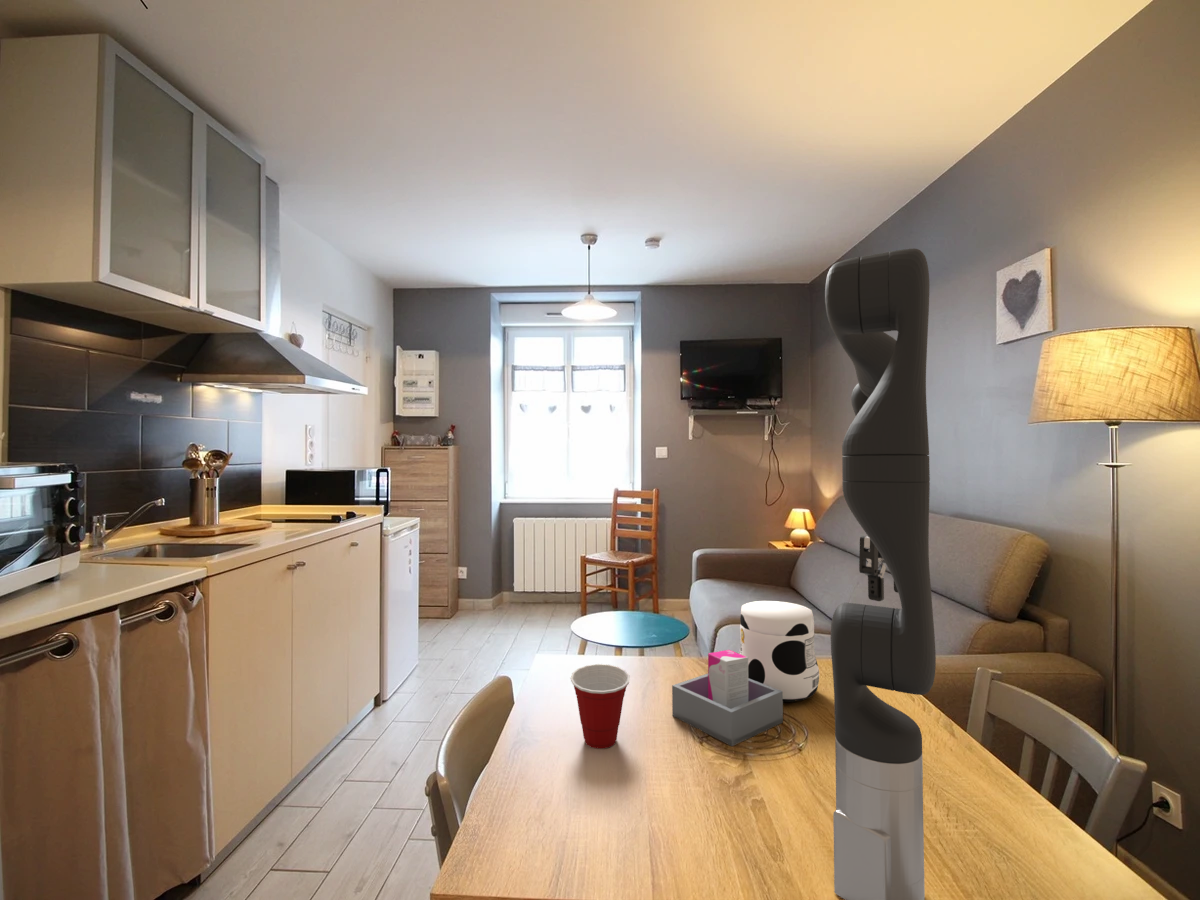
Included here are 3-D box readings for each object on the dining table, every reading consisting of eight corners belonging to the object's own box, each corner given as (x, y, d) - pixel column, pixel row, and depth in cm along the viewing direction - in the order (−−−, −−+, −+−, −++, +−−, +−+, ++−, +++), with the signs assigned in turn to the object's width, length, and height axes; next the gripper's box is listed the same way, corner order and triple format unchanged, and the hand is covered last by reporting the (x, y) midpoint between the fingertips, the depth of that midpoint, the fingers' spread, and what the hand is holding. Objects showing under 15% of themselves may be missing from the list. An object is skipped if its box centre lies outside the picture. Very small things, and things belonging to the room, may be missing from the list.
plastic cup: (572, 759, 95) (571, 688, 95) (569, 729, 106) (569, 665, 106) (635, 755, 96) (634, 685, 96) (625, 726, 107) (625, 663, 107)
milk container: (729, 676, 131) (729, 599, 132) (804, 676, 131) (803, 599, 131) (746, 708, 114) (745, 620, 115) (832, 709, 113) (830, 620, 114)
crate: (731, 746, 99) (731, 712, 99) (672, 715, 111) (672, 685, 111) (782, 722, 108) (782, 691, 108) (722, 696, 120) (722, 668, 120)
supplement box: (750, 716, 108) (749, 656, 109) (726, 723, 106) (725, 662, 106) (729, 704, 114) (729, 648, 114) (706, 711, 111) (706, 653, 111)
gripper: (889, 501, 86) (891, 608, 85) (930, 497, 94) (932, 594, 94) (843, 499, 92) (844, 598, 91) (885, 495, 100) (887, 586, 100)
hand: (889, 596), depth 92 cm, fingers open, 8 cm apart
